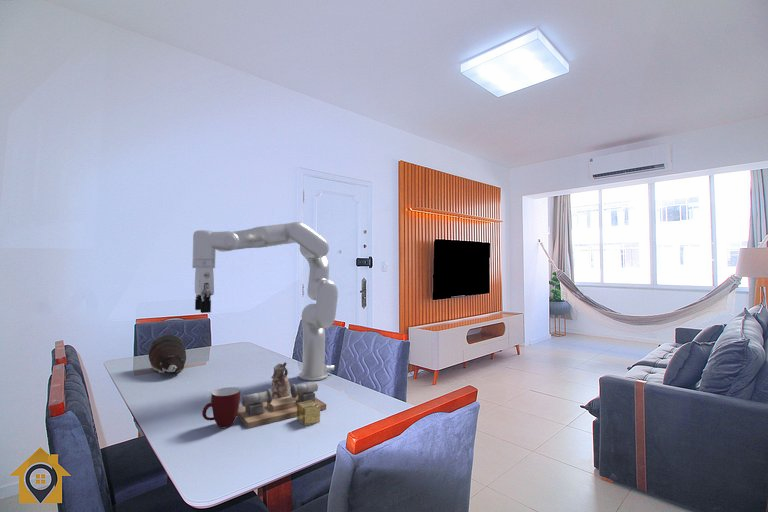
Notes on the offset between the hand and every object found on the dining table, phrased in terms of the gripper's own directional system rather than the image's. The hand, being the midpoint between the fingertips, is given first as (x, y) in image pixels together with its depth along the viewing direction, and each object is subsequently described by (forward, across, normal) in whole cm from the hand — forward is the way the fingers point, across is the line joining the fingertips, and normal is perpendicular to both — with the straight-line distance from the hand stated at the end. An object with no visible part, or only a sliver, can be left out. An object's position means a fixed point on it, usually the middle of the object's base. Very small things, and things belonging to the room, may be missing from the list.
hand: (202, 311), depth 137 cm
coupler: (+31, -41, -23) cm, 56 cm away
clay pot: (+32, +42, +5) cm, 53 cm away
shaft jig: (+31, -29, -19) cm, 47 cm away
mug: (+31, -30, 0) cm, 43 cm away
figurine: (+32, -15, -24) cm, 42 cm away
